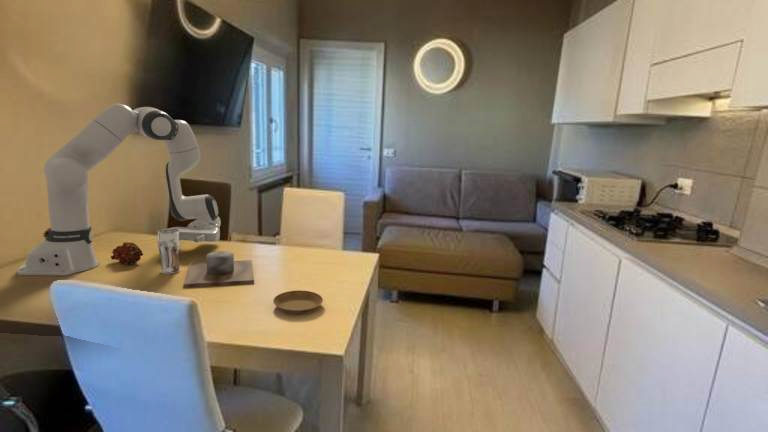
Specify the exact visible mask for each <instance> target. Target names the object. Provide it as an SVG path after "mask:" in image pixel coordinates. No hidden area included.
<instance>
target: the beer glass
mask: <svg viewBox="0 0 768 432" xmlns="http://www.w3.org/2000/svg"><path fill="white" fill-rule="evenodd" d="M157 247H158V251H159V255H160V259H161V265H160V266H161V267H160V274H164V275H172V274H178V273H179V272H180V268H181V267H180V265H179V255H180V254H179V253H180V250H181V249H180V248H181V240H180V237H179V230H178V229H173V228H172V227H169V228H162V229H159V230H158V231H157Z"/></svg>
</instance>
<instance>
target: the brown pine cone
mask: <svg viewBox="0 0 768 432" xmlns="http://www.w3.org/2000/svg"><path fill="white" fill-rule="evenodd" d="M111 254H112V255H110V258H111V260H116V261H118V263H119V264H121V265H125V264H127V265H134V264H135V263H136V262H139V261H140V260H141V257H142V256H144V253H143V251H142V249H141V248H140V247H139V246H138V245H137V244H135V243H134V242H131V241H130V242H128V241H127V242H126V241H125V242H123V243H122V245H118V246H116V247H115V248H113V250H112V251H111ZM133 263H134V264H133Z"/></svg>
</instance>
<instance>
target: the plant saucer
mask: <svg viewBox="0 0 768 432" xmlns="http://www.w3.org/2000/svg"><path fill="white" fill-rule="evenodd" d="M272 301H273V302H272V303H273V304H274V305H275V307H276V308H277V309H278V310H280V312H282V313H284V314H287V315H293V316H294V315H295V316H299V315H300V316H301V315H306V314H310V313H313V312H315V310H317V309H318V308H319V307H320V306H321V305H322V303H323V301H324V298H323V297H322V296H321V295H320V294H319V293H317V292H313V291H309V290H290V291H285V292H281V293H279V294H277V295H275V297H274V298H273V299H272Z"/></svg>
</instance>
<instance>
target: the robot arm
mask: <svg viewBox="0 0 768 432" xmlns="http://www.w3.org/2000/svg"><path fill="white" fill-rule="evenodd" d="M134 133H139V134H141V135H142V136H144V137H146V138H149V139H152V140H155V141H164V142H165V144H166V148H167V151H168V154H169V161H168V162H167V163H166V164H165V177H166V184H167V185H166V186H167V189H168V197H169V210H170V214H171V216H172V217H173V218H175V220H178V221H180V222H183V221H188V220H193V221H191V222H190V223H188V224H187V226H173V227H171V228H173V229H178V230H179V237H180V241H191V242H194V243H200V242H209V243H210V242H213V243H215V242H217V241H220V240H221V239H220V238H221V229H220V227H221V225H222V223H221V222H222V220H221V218H220V216H219V214H220V207H219V204H218V201H217V200H216V198H215V197H214V196H212V195H210V194H208V193H207V194H200V195H190V196H185V195H184V194H183V191H182V186H181V185H182V184H181V176H182V175H183V174H186V173H188V172H189V171H191V170H192V169H194V168H196V166H197V165H198V164H199V163H200V160H201V158H202V157H201V150H200V148H199V144H198V142H197V141H198V140H197V139H196V135H195V134H194V131H193V129H192V128H191V126H190V124H189V123H188V122H187V121H185V120H182V119H173V118H172V117H171V116H170V115H169V114H168V113H167V112H164V111H163V110H160V109H159V108H155V107H152V106H145V105H141V106H137V107H132V108H131V107H129V105H125V104H123V103H113V104H112V105H110V106H109V107H107V108H105V109H104V110H103V111H101V112H100V113H98V115H96V116H95V117H94V118H93V119H92V120H91V121H90V122H89V123H88V124H87V125H86V126H85V127H84V128H83V129H82V130H80V132H78V133H77V134H76V136H74V137H73V138H71V139H70V140H69V141H68V142H67V143H66V144H65V145H63V146H62V147H61V148H60V149H58V150H57V151H56V152H55V153H54V154H53V155H52V156H51V157H50V158H48V159H47V160H46V162H45V163H44V166H43V173H44V176H45V179H46V188H47V201H48V203H47V205H48V214H49V215H48V216H49V223H50V226H49V227H48V228H47V229H46V230H45V231H44V232H43V233H42V236H43V237H44V240H43V241H42V242H41V243H39V244H37V245H36V246H35V247H34V248H32V249H31V250H30V251H28V253H27V254H26V257H25V258H26V259H25V263H24V264H22V265H21V266H20V267H18V269H17V275H18V276H68V275H72V274H76V273H79V272H84V271H87V270H91V269H94V268H95V267H97V266H99V261H98V260H97V257H96V254H95V251H94V247H93V238H94V237H93V231H92V230H93V229H92V226H91V224H90V214H89V213H90V212H89V181H88V180H89V179H88V177H89V176H88V173H89V172H90V171H91V170H92V169H94V168H95V167H96V166H97V165H99V164H100V163H101V162H102V161H104V160H106V159H107V158H108V157H109V156H110V155H111V154H112V153H113V152H114V151H115V150H116V149H117V148H118V147H119V146H120V145H121V144H122V142H124V140H126V139H127V138H128V136H130V135H131V134H134ZM194 219H195V220H194Z"/></svg>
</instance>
